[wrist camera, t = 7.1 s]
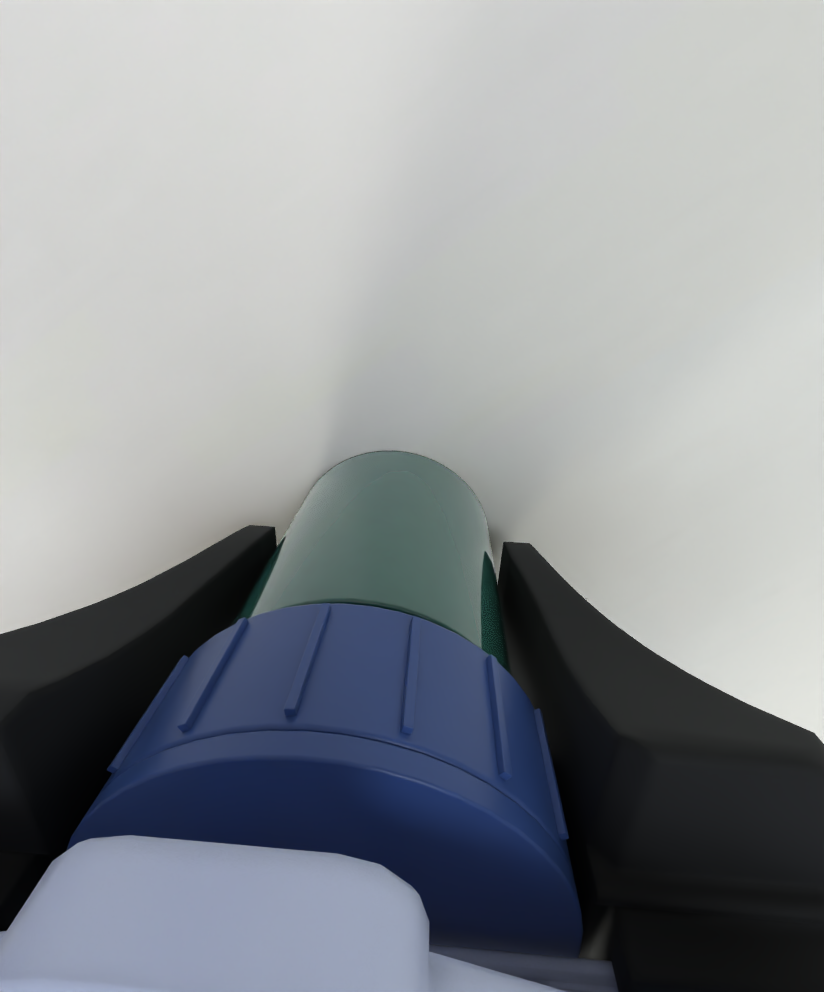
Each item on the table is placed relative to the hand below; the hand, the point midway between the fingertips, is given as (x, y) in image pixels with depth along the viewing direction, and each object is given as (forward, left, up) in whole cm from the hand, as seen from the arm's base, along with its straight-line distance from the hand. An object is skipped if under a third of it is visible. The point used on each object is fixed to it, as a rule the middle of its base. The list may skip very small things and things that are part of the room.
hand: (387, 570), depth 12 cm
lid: (0, 0, +7) cm, 7 cm away
